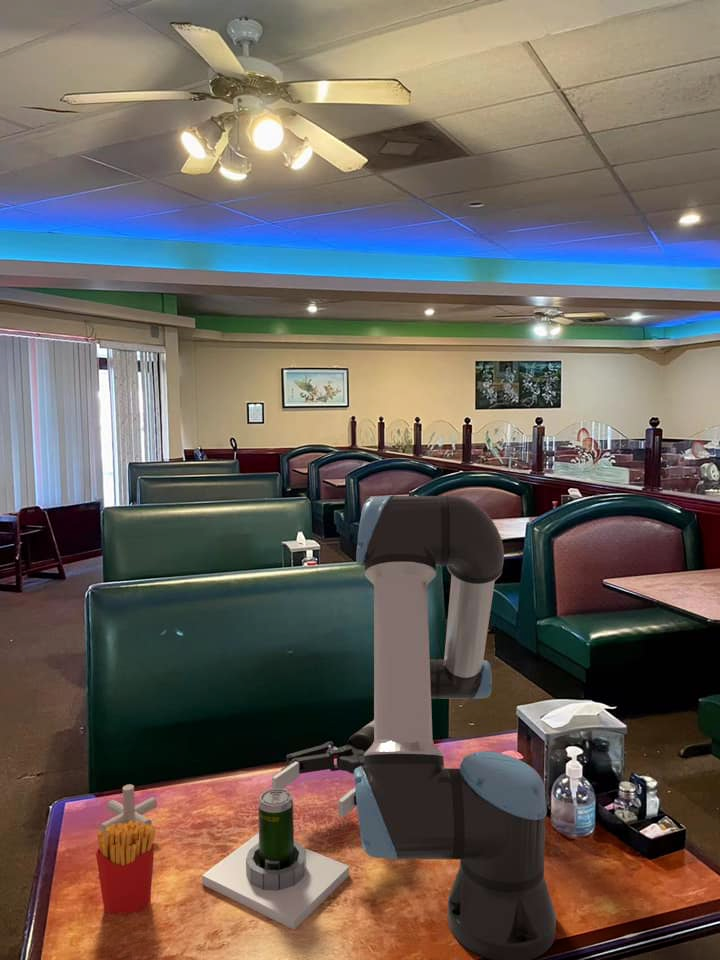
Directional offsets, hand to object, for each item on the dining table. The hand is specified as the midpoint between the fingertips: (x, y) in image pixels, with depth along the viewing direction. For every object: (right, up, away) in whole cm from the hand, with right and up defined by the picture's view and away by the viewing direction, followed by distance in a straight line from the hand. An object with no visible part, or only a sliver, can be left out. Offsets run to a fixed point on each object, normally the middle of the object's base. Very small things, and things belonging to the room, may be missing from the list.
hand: (306, 797), depth 115 cm
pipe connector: (-30, -10, +4) cm, 32 cm away
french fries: (-25, -11, -11) cm, 30 cm away
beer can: (-4, -9, -6) cm, 12 cm away
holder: (-4, -10, -6) cm, 13 cm away
